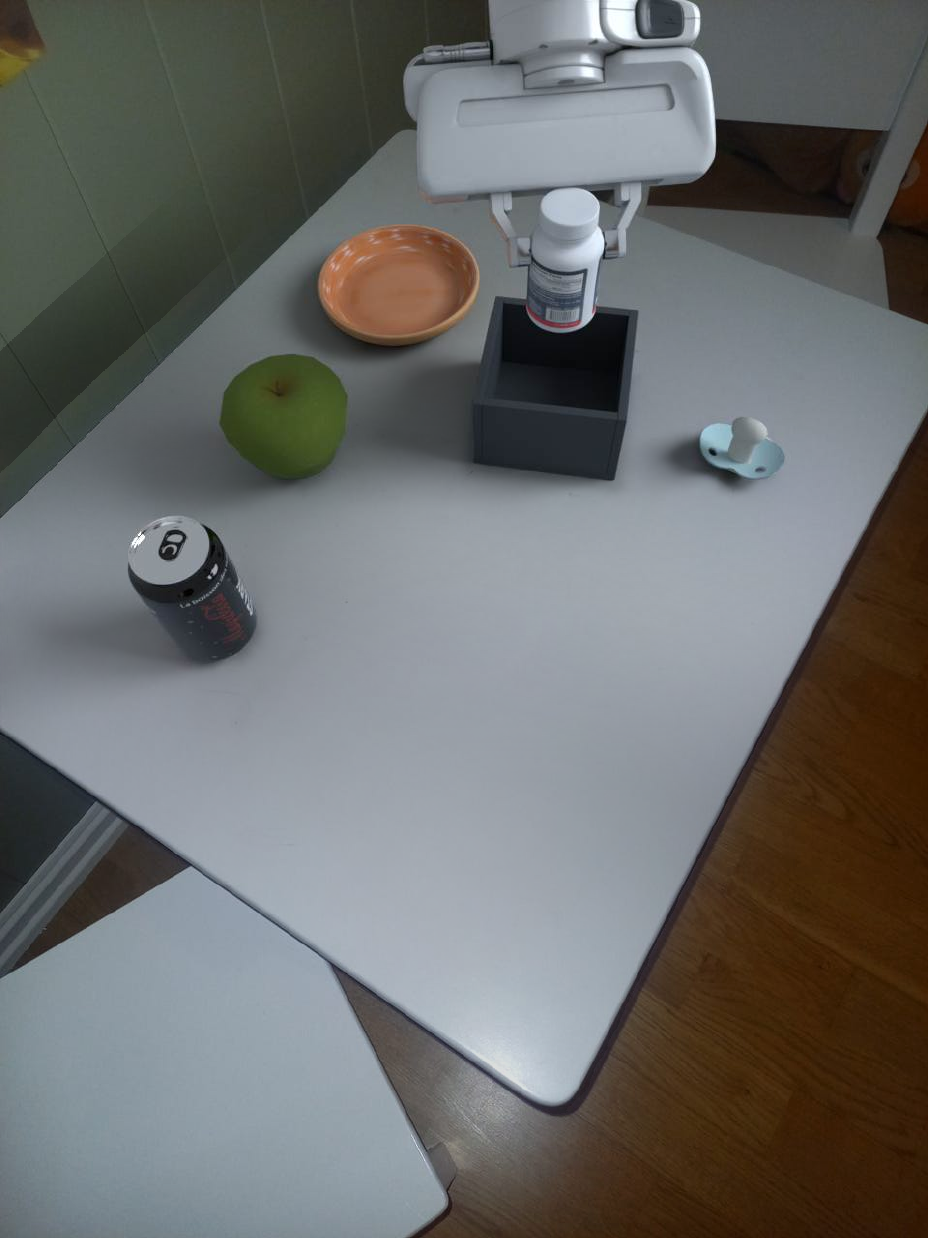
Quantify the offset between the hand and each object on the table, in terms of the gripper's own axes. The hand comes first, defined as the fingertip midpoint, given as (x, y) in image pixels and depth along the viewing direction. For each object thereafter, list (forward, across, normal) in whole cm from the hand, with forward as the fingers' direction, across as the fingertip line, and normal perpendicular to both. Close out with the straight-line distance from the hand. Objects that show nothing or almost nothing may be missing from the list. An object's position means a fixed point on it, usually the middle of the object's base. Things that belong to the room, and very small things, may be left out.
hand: (567, 262), depth 60 cm
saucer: (0, -12, +28) cm, 30 cm away
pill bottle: (+3, 0, +4) cm, 5 cm away
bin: (+12, +1, +16) cm, 20 cm away
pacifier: (+16, +16, +11) cm, 26 cm away
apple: (+13, -23, +14) cm, 30 cm away
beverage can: (+25, -29, +2) cm, 39 cm away
